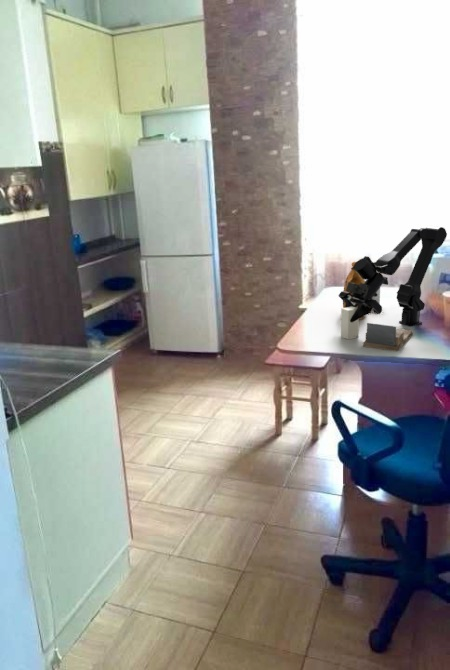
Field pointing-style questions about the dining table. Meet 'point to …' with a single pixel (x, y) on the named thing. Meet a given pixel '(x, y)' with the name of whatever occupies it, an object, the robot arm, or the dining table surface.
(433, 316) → the dining table surface
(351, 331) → the white rectangular block
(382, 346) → the shelf plank
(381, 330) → the bookend
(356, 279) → the coffee package
